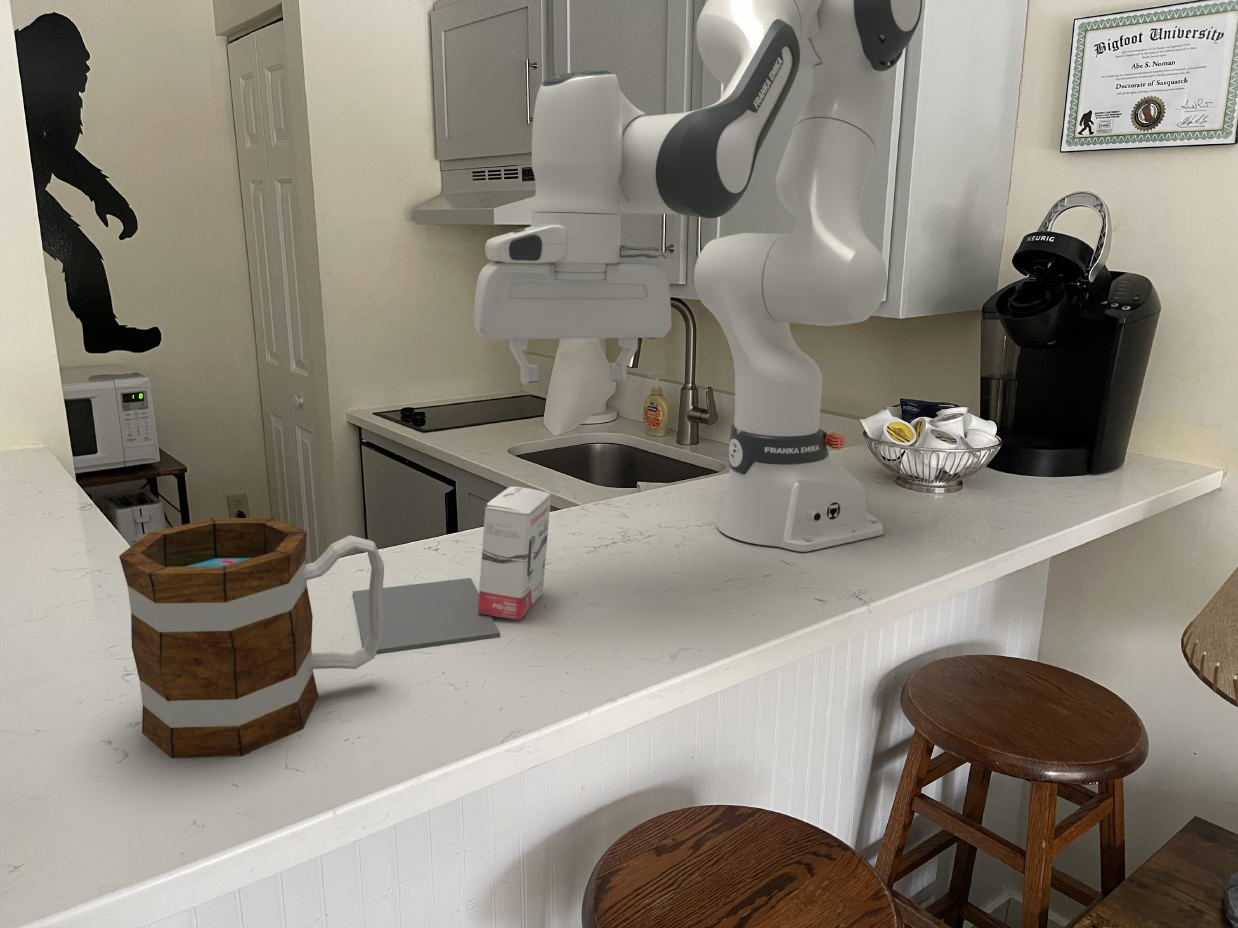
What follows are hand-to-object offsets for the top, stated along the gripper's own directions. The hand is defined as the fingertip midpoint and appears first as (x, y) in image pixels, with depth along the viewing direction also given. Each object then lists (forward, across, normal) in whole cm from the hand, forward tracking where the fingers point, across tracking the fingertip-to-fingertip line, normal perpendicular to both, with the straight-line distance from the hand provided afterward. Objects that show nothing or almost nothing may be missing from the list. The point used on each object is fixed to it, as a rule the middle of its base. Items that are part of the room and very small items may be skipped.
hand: (573, 382), depth 93 cm
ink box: (+24, +6, 0) cm, 25 cm away
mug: (+25, +30, +15) cm, 42 cm away
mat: (+24, +16, 0) cm, 29 cm away
